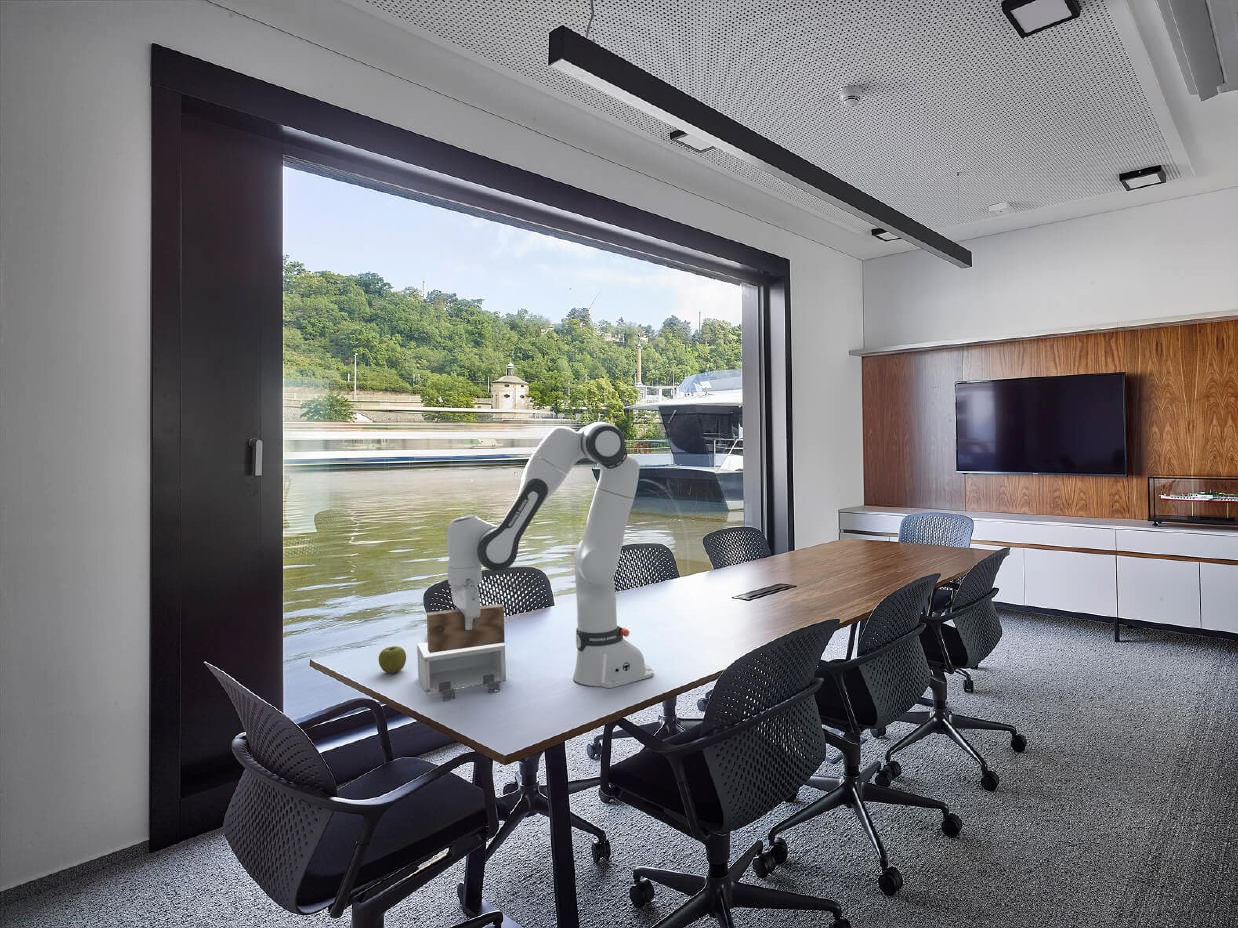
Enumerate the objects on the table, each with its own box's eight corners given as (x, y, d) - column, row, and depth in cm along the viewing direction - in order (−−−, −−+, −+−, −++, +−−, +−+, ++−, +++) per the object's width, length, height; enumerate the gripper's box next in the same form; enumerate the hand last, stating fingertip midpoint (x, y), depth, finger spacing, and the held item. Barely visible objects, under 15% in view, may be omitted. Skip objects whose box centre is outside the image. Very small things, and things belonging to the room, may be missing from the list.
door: (501, 639, 195) (500, 604, 195) (505, 643, 192) (504, 607, 191) (427, 650, 187) (426, 612, 187) (430, 654, 184) (428, 616, 183)
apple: (373, 675, 205) (372, 651, 205) (391, 666, 213) (390, 643, 213) (394, 678, 203) (393, 653, 202) (412, 669, 210) (411, 645, 210)
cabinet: (494, 666, 211) (492, 632, 210) (512, 688, 192) (511, 652, 191) (418, 678, 202) (417, 643, 202) (429, 702, 183) (428, 664, 183)
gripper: (485, 582, 181) (487, 635, 181) (469, 568, 200) (470, 617, 200) (460, 584, 178) (462, 638, 179) (446, 570, 197) (448, 619, 198)
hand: (466, 627), depth 190 cm, fingers closed on door, 3 cm apart
